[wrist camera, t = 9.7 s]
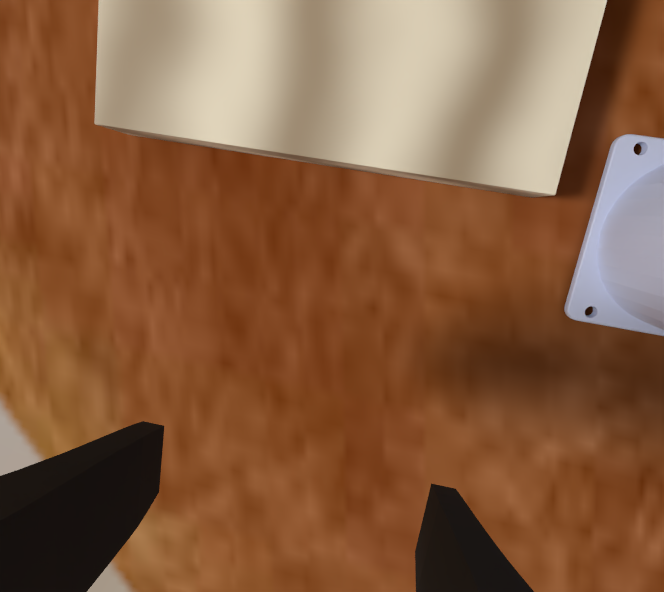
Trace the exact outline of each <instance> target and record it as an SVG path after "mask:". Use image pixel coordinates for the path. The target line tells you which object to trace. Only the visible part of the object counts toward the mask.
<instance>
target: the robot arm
mask: <svg viewBox="0 0 664 592" xmlns="http://www.w3.org/2000/svg"><path fill="white" fill-rule="evenodd" d="M636 144H640V146H641V147H642V151H641V153H640V154H639V155H637V154H635V153H634V146H635V145H636ZM589 306H592V307H593V312H592V313H591V314H590V315H587V316H586V315H585V310H586V308H588V307H589ZM564 311H565V313H566V315H567V316H568V317H569V318H571V319H574V320H577V321H582V322H588V323H593V324H599V325H605V326H610V327H616V328H621V329H627V330H633V331H638V332H644V333H650V334H655V335H661V336H664V139H662V138H654V137H647V136H640V135H633V134H626V135H623V136H620V137H618V138H616V139H615V140H614V141H613V143H612V145H611V147H610V150H609V154H608V157H607V161H606V164H605V168H604V171H603V175H602V178H601V182H600V185H599V189H598V192H597V196H596V199H595V203H594V206H593V209H592V213H591V216H590V220H589V223H588V227H587V230H586V234H585V237H584V241H583V244H582V248H581V251H580V255H579V258H578V262H577V265H576V269H575V272H574V276H573V279H572V282H571V286H570V289H569V293H568V296H567V300H566V303H565V308H564ZM163 434H164V426H162V425H157V424H153V423H148V422H140V423H137V424H134V425H131V426H128V427H126V428H123V429H121V430H118V431H116V432H114V433H111V434H109V435H106V436H104V437H102V438H99V439H97V440H94V441H92V442H89V443H87V444H85V445H82V446H80V447H77V448H75V449H72V450H70V451H68V452H65V453H62V454H60V455H57V456H54V457H52V458H49V459H46V460H44V461H41V462H38V463H36V464H33V465H30V466H28V467H25V468H23V469H20V470H17V471H14V472H11V473H8V474H5V475H2V476H0V592H87V591H88V589H89V588H90V587H91V586H92V584H93V583H94V582H95V581H96V579H97V578H98V577H99V576H100V574H101V573H102V572H103V571H104V569H105V568H106V567H107V566H108V564H109V563H110V562H111V561H112V559H113V558H114V557H115V555H116V554H117V553H118V552H119V550H120V549H121V548H122V547H123V545H124V544H125V543H126V541H127V540H128V539H129V538H130V536H131V535H132V534H133V532H134V531H135V530H136V528H137V527H138V525H139V524H140V522H141V521H142V519H143V518H144V516H145V514H146V513H147V511H148V509H149V508H150V506H151V504H152V503H153V501H154V499H155V498H156V496H157V494H158V493H159V484H160V472H161V459H162V447H163ZM415 560H416V592H534V591H533V590H532V589H531V588H530V587H529V585H528V584H527V583H526V582H525V581H524V579H523V578H522V577H521V576H520V575H519V573H518V572H517V571H516V570H515V569H514V567H513V566H512V565H511V564H510V562H509V561H508V560H507V559H506V557H505V556H504V555H503V553H502V552H501V551H500V550H499V548H498V547H497V546H496V544H495V543H494V542H493V540H492V539H491V538H490V536H489V535H488V533H487V532H486V531H485V529H484V528H483V527H482V525H481V524H480V522H479V521H478V520H477V518H476V517H475V515H474V514H473V513H472V511H471V510H470V508H469V507H468V505H467V504H466V503H465V501H464V500H463V498H462V497H461V496H460V494H459V493H458V491H457V490H456V489H454V488H449V487H444V486H440V485H435V484H431V488H430V492H429V496H428V500H427V505H426V509H425V513H424V517H423V521H422V526H421V530H420V534H419V538H418V542H417V546H416V551H415Z"/></svg>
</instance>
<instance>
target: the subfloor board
mask: <svg viewBox="0 0 664 592" xmlns="http://www.w3.org/2000/svg"><path fill="white" fill-rule="evenodd" d="M606 3H607V0H99V11H98V39H97V68H96V97H95V124H96V125H99V126H103V127H106V128H109V129H112V130H116V131H119V132H122V133H125V134H129V135H134V136H140V137H147V138H153V139H160V140H166V141H173V142H179V143H185V144H192V145H198V146H205V147H211V148H218V149H224V150H230V151H237V152H243V153H250V154H256V155H263V156H269V157H275V158H282V159H288V160H295V161H301V162H308V163H314V164H320V165H327V166H333V167H340V168H346V169H353V170H359V171H365V172H372V173H378V174H385V175H391V176H398V177H404V178H410V179H417V180H423V181H430V182H436V183H443V184H449V185H455V186H462V187H468V188H475V189H481V190H488V191H494V192H500V193H507V194H513V195H520V196H526V197H542V196H551V195H555V194H556V190H557V186H558V183H559V179H560V175H561V171H562V168H563V164H564V160H565V156H566V153H567V149H568V145H569V141H570V138H571V134H572V130H573V126H574V123H575V119H576V115H577V111H578V108H579V104H580V100H581V96H582V93H583V89H584V85H585V81H586V78H587V74H588V70H589V67H590V63H591V59H592V55H593V52H594V48H595V44H596V40H597V37H598V33H599V29H600V25H601V22H602V18H603V14H604V10H605V7H606Z"/></svg>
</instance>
